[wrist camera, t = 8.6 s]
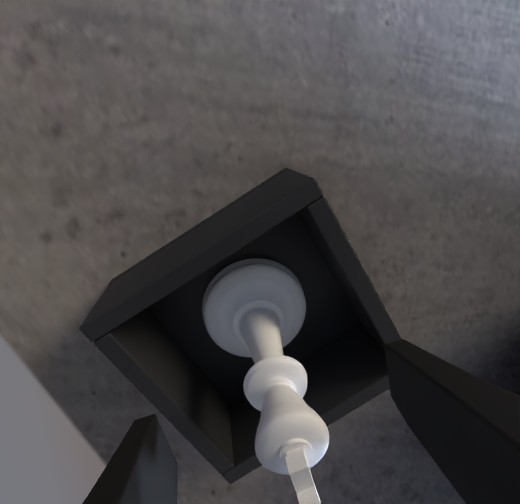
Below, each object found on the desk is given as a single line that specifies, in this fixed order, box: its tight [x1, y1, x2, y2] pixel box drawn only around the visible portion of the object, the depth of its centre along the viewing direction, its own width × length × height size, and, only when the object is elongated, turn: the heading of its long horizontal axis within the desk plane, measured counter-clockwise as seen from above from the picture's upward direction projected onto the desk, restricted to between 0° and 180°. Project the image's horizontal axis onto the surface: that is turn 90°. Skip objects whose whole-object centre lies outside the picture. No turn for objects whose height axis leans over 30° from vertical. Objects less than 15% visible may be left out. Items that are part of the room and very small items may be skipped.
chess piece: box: [202, 258, 329, 504], centre depth 12 cm, size 5×5×10 cm
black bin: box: [80, 168, 401, 484], centre depth 15 cm, size 9×9×4 cm
